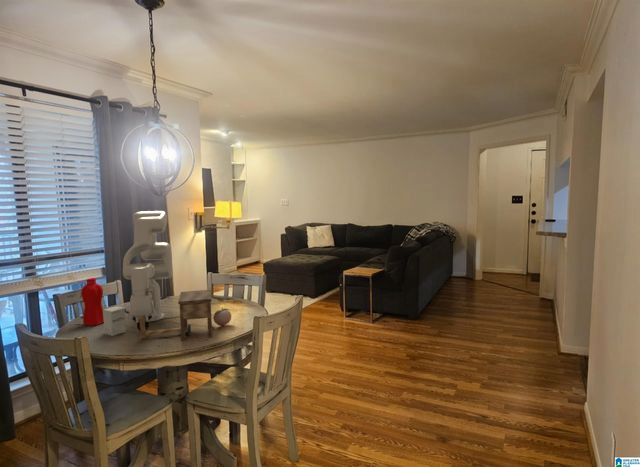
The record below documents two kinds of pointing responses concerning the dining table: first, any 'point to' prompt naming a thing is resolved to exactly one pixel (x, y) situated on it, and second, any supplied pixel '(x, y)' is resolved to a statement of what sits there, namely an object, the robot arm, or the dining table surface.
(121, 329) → the supplement box
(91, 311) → the water bottle
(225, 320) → the decorative fruit
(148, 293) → the robot arm
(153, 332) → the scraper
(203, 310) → the cabinet
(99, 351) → the dining table surface
